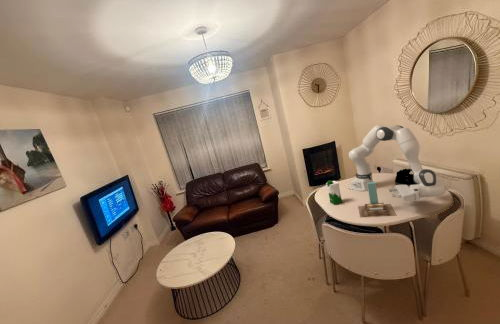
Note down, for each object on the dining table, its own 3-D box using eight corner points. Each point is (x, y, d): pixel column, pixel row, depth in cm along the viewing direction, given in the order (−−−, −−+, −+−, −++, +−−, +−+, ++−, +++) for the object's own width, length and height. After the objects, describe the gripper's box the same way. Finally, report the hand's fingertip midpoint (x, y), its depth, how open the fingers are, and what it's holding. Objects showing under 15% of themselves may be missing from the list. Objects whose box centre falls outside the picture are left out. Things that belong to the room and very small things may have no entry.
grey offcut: (383, 212, 152) (382, 207, 152) (383, 214, 150) (383, 208, 150) (370, 213, 155) (369, 208, 155) (370, 214, 154) (369, 209, 153)
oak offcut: (383, 210, 155) (382, 203, 154) (384, 211, 153) (383, 204, 153) (368, 211, 159) (367, 204, 158) (368, 212, 157) (367, 205, 157)
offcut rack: (391, 205, 161) (390, 200, 160) (397, 217, 145) (396, 211, 144) (358, 207, 170) (357, 202, 169) (360, 219, 154) (359, 213, 153)
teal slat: (378, 207, 160) (374, 181, 157) (379, 209, 158) (375, 183, 154) (371, 208, 162) (367, 182, 159) (371, 209, 160) (367, 183, 156)
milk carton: (328, 202, 191) (324, 180, 188) (338, 199, 192) (334, 177, 189) (334, 205, 183) (329, 183, 179) (343, 202, 184) (339, 180, 180)
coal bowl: (407, 185, 185) (404, 164, 182) (433, 190, 166) (431, 167, 163) (390, 193, 179) (387, 171, 176) (415, 199, 160) (413, 175, 157)
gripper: (409, 181, 157) (387, 183, 163) (419, 192, 139) (393, 194, 144) (410, 189, 158) (388, 191, 164) (420, 201, 140) (394, 203, 145)
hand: (390, 193), depth 154 cm, fingers open, 8 cm apart
